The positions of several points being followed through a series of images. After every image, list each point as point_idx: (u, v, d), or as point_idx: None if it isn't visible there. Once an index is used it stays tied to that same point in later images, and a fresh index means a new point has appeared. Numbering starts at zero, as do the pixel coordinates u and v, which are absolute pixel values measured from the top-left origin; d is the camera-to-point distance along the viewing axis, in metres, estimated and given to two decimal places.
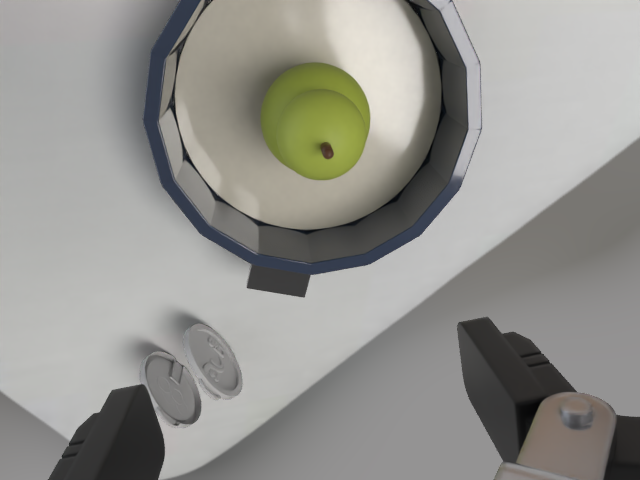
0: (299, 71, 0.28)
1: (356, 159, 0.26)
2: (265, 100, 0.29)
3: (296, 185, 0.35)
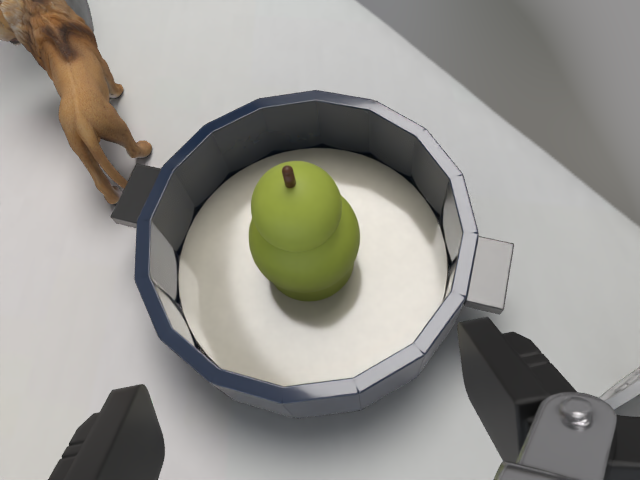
0: (250, 244, 0.29)
1: None
2: (277, 279, 0.28)
3: (394, 275, 0.32)
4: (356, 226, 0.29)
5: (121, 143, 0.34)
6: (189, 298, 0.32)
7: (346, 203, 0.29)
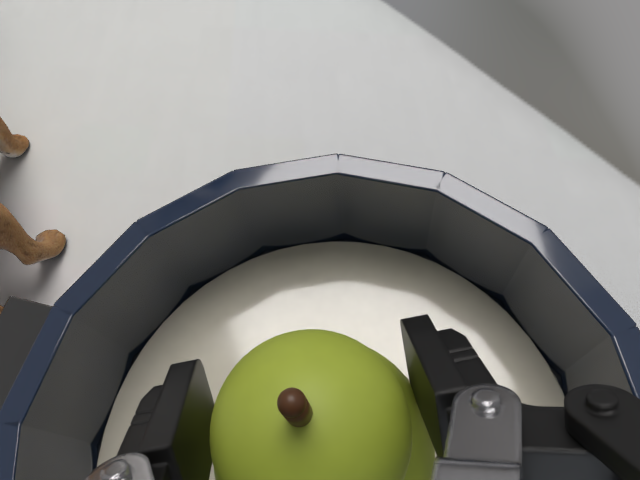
0: (215, 479, 0.14)
1: (349, 343, 0.12)
2: None
3: None
4: (430, 439, 0.14)
5: None
6: None
7: (409, 391, 0.14)
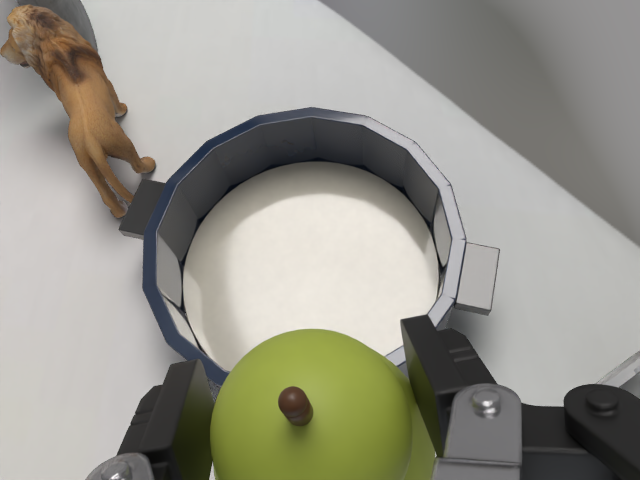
0: (215, 478, 0.14)
1: (350, 343, 0.12)
2: None
3: (388, 281, 0.33)
4: (430, 439, 0.14)
5: (127, 159, 0.36)
6: (193, 305, 0.34)
7: (409, 391, 0.14)
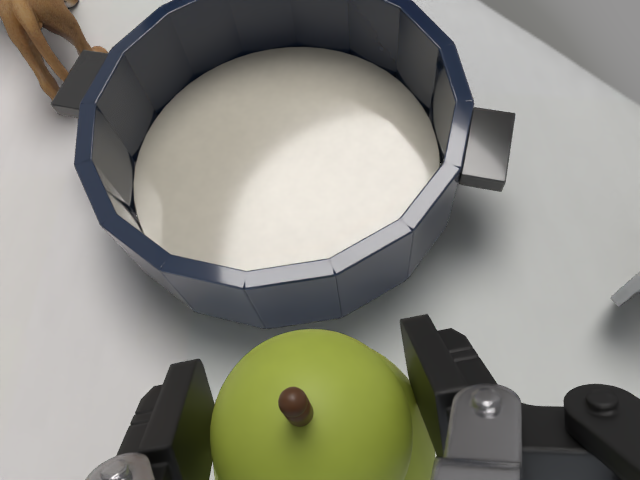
0: (215, 478, 0.14)
1: (350, 343, 0.12)
2: None
3: (379, 172, 0.28)
4: None
5: (69, 38, 0.30)
6: (145, 204, 0.28)
7: (409, 391, 0.14)
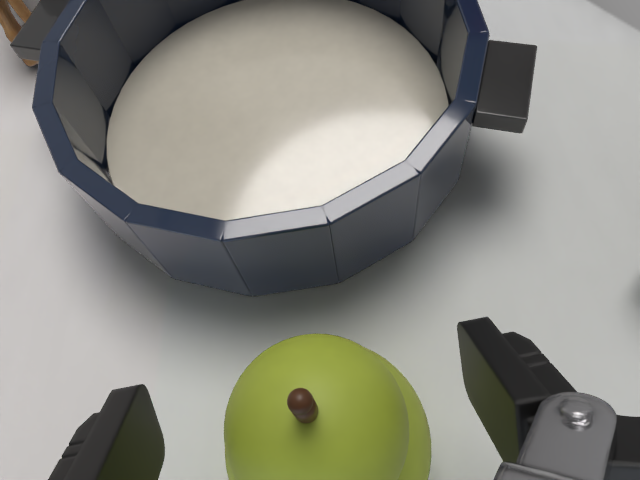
0: (227, 471, 0.15)
1: (352, 348, 0.13)
2: None
3: (380, 124, 0.25)
4: (427, 436, 0.15)
5: None
6: (119, 161, 0.25)
7: (407, 391, 0.15)
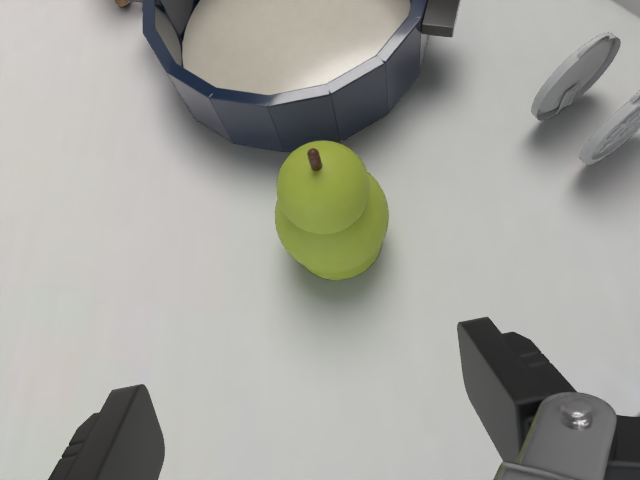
0: (277, 226, 0.28)
1: (339, 144, 0.25)
2: (305, 261, 0.28)
3: (367, 38, 0.36)
4: (384, 204, 0.28)
5: None
6: (192, 69, 0.37)
7: (373, 181, 0.28)
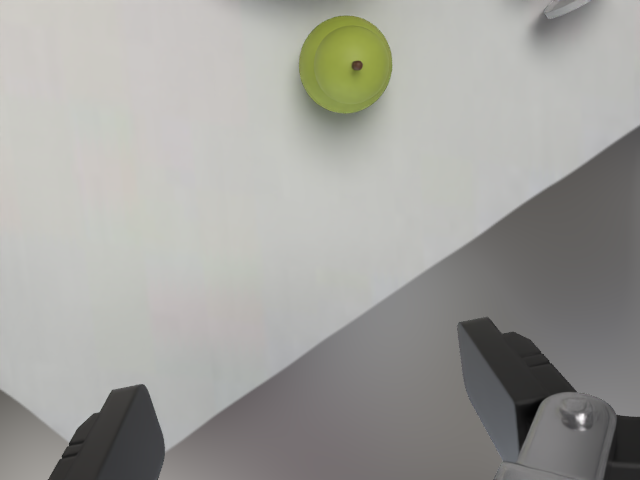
0: (304, 79, 0.35)
1: (370, 36, 0.31)
2: (326, 108, 0.36)
3: None
4: (391, 64, 0.35)
5: None
6: None
7: (385, 45, 0.34)
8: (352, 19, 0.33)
